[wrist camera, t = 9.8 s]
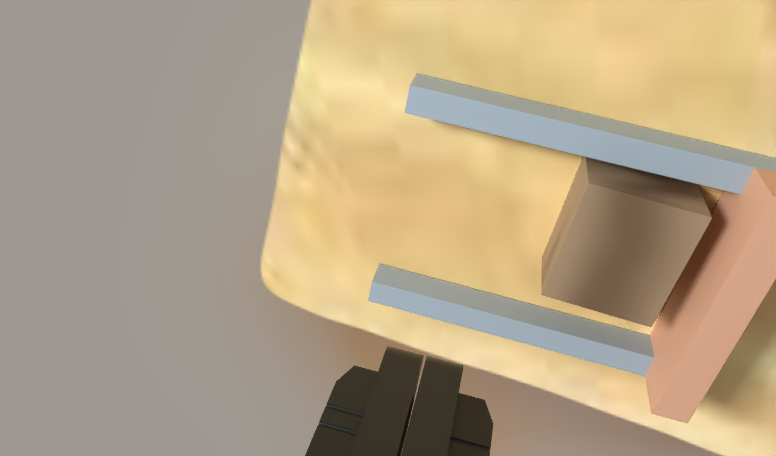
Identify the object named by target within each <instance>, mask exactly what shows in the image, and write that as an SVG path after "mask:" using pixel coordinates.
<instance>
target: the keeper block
mask: <svg viewBox="0 0 776 456" xmlns="http://www.w3.org/2000/svg"><path fill="white" fill-rule="evenodd" d="M711 219H712V216H711V214H710V211H709V209H708V207H707V205H706V202H705V200H704V198H703V196H702V193H701V191H700V189H699V186H698V184H696V183H692V182H688V181H683V180H679V179H675V178H671V177H667V176H663V175H659V174H655V173H651V172H646V171H642V170H638V169H634V168H630V167H626V166H622V165H618V164H613V163H609V162H605V161H601V160H597V159H593V158H589V157H585V156H583V158H582V161H581V163H580V166H579V168H578V171H577V173H576V175H575V178H574V180H573V183H572V185H571V188H570V190H569V193H568V195H567V198H566V200H565V202H564V205H563V207H562V210H561V212H560V215H559V217H558V220H557V222H556V224H555V227H554V229H553V232H552V234H551V237H550V239H549V242H548V244H547V247H546V249H545V251H544V254H543V256H542V292H541V295H544V296H547V297H550V298H554V299H557V300H561V301H564V302H567V303H571V304H574V305H578V306H581V307H584V308H588V309H591V310H595V311H598V312H601V313H605V314H608V315H611V316H615V317H618V318H622V319H625V320H628V321H632V322H635V323H639V324H642V325H645V326H649V327H652V325H653V323H654V321H655V320H656V318H657V316H658V314H659V313H660V311H661V309H662V307H663V305H664V304H665V302H666V300H667V298H668V296H669V295H670V293H671V291H672V289H673V287H674V286H675V284H676V282H677V280H678V278H679V277H680V275H681V273H682V271H683V269H684V268H685V266H686V264H687V262H688V260H689V259H690V257H691V255H692V253H693V251H694V250H695V248H696V246H697V244H698V243H699V241H700V239H701V237H702V235H703V234H704V232H705V230H706V228H707V226H708V225H709V223H710V221H711Z"/></svg>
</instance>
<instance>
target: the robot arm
mask: <svg viewBox="0 0 776 456" xmlns="http://www.w3.org/2000/svg"><path fill="white" fill-rule="evenodd" d="M423 357H424V356H423V355H420V354H416V353H412V352H409V351H405V350H401V349H397V348H393V347H389V346H388V347H387V349H386V351H385V354H384V357H383V360H382V363H381V365H380V368H379V371H378V372H376V371H372V370H369V369H365V368H361V367H357V366H353V367H352V368H351V369H350V370H349V371H348V372H347V373H345V374H344V375H343V376H342V377H341V378H340V379H339V380H337V381H336V383H335V386H334V388H333V390H332V393H331V395H330V397H329V400H328V402H327V406H326V407H325V410H324V412H323V414H322V417H321V419H320V422H319V425H318V426H317V429H316V431H315V433H314V436H313V438H312V441H311V443H310V445H309V448H308V450H307V452H306V455H305V456H489V455H490V447H491V438H492V429H493V422H492V419H491V416H490V413H489V411H488V408H487V405H486V402H485V400H483V399H479V398H475V397H472V396H468V395H464V394H460V393H459V387H460V382H461V377H462V371H463V365H459V364H455V363H451V362H448V361H444V360H440V359H436V358H432V357H428V356H427V358H426V361H425V365H424V369H423V373H422V377H421V380H420V384H419V388H418V392H417V396H416V400H415V404H414V407H413V403H414V398H415V394H416V389H417V384H418V380H419V375H420V371H421V366H422V362H423ZM412 407H413V411H412ZM411 412H412V415H411ZM410 416H411V419H410ZM409 420H410V423H409ZM408 424H409V426H408ZM407 428H408V430H407ZM406 433H407V434H406ZM405 437H406V438H405ZM404 441H405V442H404ZM403 444H404V446H403ZM402 448H403V450H402ZM401 452H402V453H401Z"/></svg>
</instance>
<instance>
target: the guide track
mask: <svg viewBox="0 0 776 456" xmlns="http://www.w3.org/2000/svg"><path fill="white" fill-rule="evenodd" d="M405 113H408V114H412V115H416V116H420V117H424V118H428V119H432V120H437V121H441V122H445V123H449V124H453V125H457V126H461V127H465V128H469V129H474V130H478V131H482V132H486V133H490V134H494V135H498V136H502V137H506V138H511V139H515V140H519V141H523V142H527V143H531V144H535V145H539V146H544V147H548V148H552V149H556V150H560V151H564V152H568V153H572V154H576V155H581V156H585V157H589V158H593V159H597V160H601V161H605V162H609V163H613V164H618V165H622V166H626V167H630V168H634V169H638V170H642V171H646V172H651V173H655V174H659V175H663V176H667V177H671V178H675V179H679V180H683V181H688V182H692V183H696V184H700V185H704V186H708V187H712V188H716V189H720V190H724V191H723V193H722V195H721V197H720V199H719V201H718V203H717V205H716V207H715V209H714V211H713V213H712V215H711V216H712V219H711V221H710V223H709V225H708V226H707V228H706V230H705V232H704V234H703V235H702V237H701V239H700V241H699V243H698V244H697V246H696V248H695V250H694V251H693V253H692V255H691V257H690V259H689V260H688V262H687V264H686V266H685V268H684V270H683V272H682V274H681V276H680V278H679V280H678V282H677V284H676V286H675V288H674V290H673V292H672V294H671V296H670V298H669V300H668V302H667V304H666V306H665V307H664V309H663V311H662V313H661V315H660V317H659V319H658V321H657V323H656V325H655V327H654V329H653V331H652V333H651V335H650V336H649V335H645V334H642V333H638V332H634V331H630V330H627V329H623V328H619V327H615V326H612V325H608V324H604V323H600V322H597V321H593V320H589V319H585V318H582V317H578V316H574V315H570V314H567V313H563V312H559V311H555V310H552V309H548V308H544V307H540V306H537V305H533V304H529V303H525V302H522V301H518V300H514V299H510V298H507V297H503V296H499V295H495V294H492V293H488V292H484V291H480V290H476V289H473V288H469V287H465V286H461V285H458V284H454V283H450V282H446V281H443V280H439V279H435V278H431V277H428V276H424V275H420V274H416V273H413V272H409V271H405V270H401V269H398V268H394V267H390V266H386V265H383V264H379V266H378V269H377V271H376V273H375V276H374V278H373V281H372V285H371V290H370V295H369V300H368V301H371V302H375V303H378V304H382V305H386V306H389V307H393V308H397V309H400V310H404V311H408V312H411V313H415V314H419V315H422V316H426V317H430V318H433V319H437V320H441V321H444V322H448V323H452V324H455V325H459V326H463V327H466V328H470V329H474V330H477V331H481V332H485V333H488V334H492V335H496V336H499V337H503V338H507V339H510V340H514V341H518V342H521V343H525V344H529V345H532V346H536V347H540V348H543V349H547V350H551V351H554V352H558V353H562V354H565V355H569V356H573V357H576V358H580V359H584V360H587V361H591V362H595V363H598V364H602V365H606V366H609V367H613V368H617V369H620V370H624V371H628V372H631V373H635V374H639V375H643V376H645V380H646V386H647V391H648V397H649V403H650V408H651V413H652V414H655V415H659V416H662V417H666V418H670V419H673V420H677V421H680V422H684V423H688V422H689V421H690V419H691V418H692V416H693V414H694V413H695V411H696V409H697V408H698V406H699V404H700V403H701V401H702V399H703V398H704V396H705V394H706V393H707V391H708V390H709V388H710V386H711V385H712V383H713V381H714V380H715V378H716V376H717V375H718V373H719V371H720V370H721V368H722V366H723V365H724V363H725V362H726V360H727V358H728V357H729V355H730V353H731V352H732V350H733V348H734V347H735V345H736V343H737V342H738V340H739V338H740V337H741V335H742V334H743V332H744V330H745V329H746V327H747V325H748V324H749V322H750V320H751V319H752V317H753V315H754V314H755V312H756V310H757V309H758V307H759V306H760V304H761V302H762V301H763V299H764V297H765V296H766V294H767V292H768V291H769V289H770V287H771V286H772V284H773V282H774V281H775V279H776V158H773V157H768V156H764V155H760V154H756V153H751V152H747V151H743V150H739V149H735V148H730V147H726V146H722V145H718V144H713V143H709V142H705V141H701V140H697V139H692V138H688V137H684V136H680V135H675V134H671V133H667V132H663V131H659V130H654V129H650V128H646V127H642V126H637V125H633V124H629V123H625V122H621V121H616V120H612V119H608V118H604V117H599V116H595V115H591V114H587V113H582V112H578V111H574V110H570V109H566V108H561V107H557V106H553V105H549V104H544V103H540V102H536V101H532V100H528V99H523V98H519V97H515V96H511V95H506V94H502V93H498V92H494V91H490V90H485V89H481V88H477V87H473V86H468V85H464V84H460V83H456V82H452V81H447V80H443V79H439V78H435V77H430V76H426V75H422V74H418V73H417V74H416V76H415V78H414V79H413V81H412V83H411V85H410V88H409V94H408V99H407V104H406V109H405Z"/></svg>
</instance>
